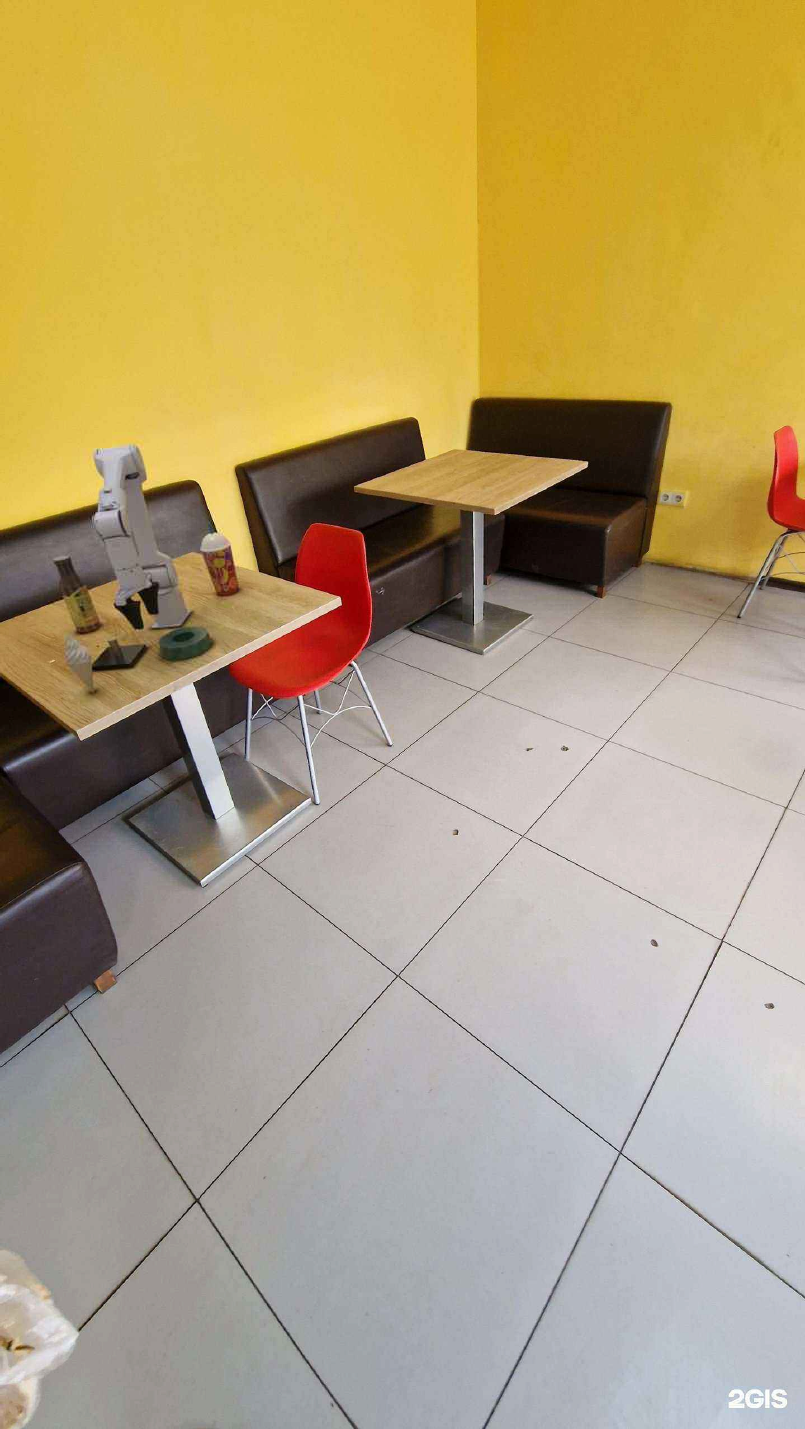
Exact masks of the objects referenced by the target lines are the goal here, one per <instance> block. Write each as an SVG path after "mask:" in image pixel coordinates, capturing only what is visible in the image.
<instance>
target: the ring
mask: <svg viewBox="0 0 805 1429" xmlns="http://www.w3.org/2000/svg"><path fill="white" fill-rule="evenodd" d="M157 643H158V645H159V648H160V651H161V654H162V656H163V658H164V659H167V660H169V661H180V660H182V661H183V660H188V659H191V658H194V657H197V656H200V655H202V654H204V653H205V652H206V651H208V650H209V649H210V647H211V645H212V640H211V636H210V634H209V631H208V630H207V628H206V627H203V626H199V625H191V626H182V627H179V628H176V629H173V630H171V631H169V632H167V633H165V634H163V635H162V636H161V637H160V639H159V640H158V642H157Z"/></svg>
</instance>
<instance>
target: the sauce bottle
mask: <svg viewBox="0 0 805 1429" xmlns="http://www.w3.org/2000/svg"><path fill="white" fill-rule="evenodd" d="M52 561H53V563H54V565H55V566H56V569H57V571H58V574H59V576H60V578H59V583H58V584H59V586H58V587H59V589H60V591H61V594H62V597H63V600H64V603H65V605H66V607H67V610H68V612H69V615H70V618H71V621H72V622H73V625H74V627H75V628H76V631H77V632H79V633H89V632H93V631H95V630H97V629H99V628H100V625H101V623H100V619H99V615H98V613H97V611H96V608H95V606H94V603H93V600H92V598H91V595H90V592H89V590H88V587H87V584H86V583H85V582H84V581H83V580H82V579H81V577H80V576H79V574H78V573H77V572H76V570H75V567H74V564H73V561H72V558H71V556H70V555H68V554H67V555H60V556H57V557H55V558H53V560H52Z"/></svg>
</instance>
